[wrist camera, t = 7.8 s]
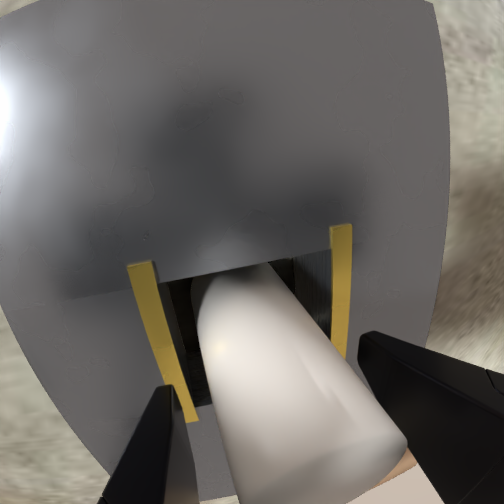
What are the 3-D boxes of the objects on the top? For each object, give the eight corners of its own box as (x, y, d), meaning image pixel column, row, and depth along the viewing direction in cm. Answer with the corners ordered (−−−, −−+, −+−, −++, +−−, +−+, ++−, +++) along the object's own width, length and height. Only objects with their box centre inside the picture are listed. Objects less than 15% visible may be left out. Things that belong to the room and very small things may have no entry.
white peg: (278, 317, 12) (386, 485, 5) (199, 335, 12) (252, 534, 5) (273, 242, 11) (426, 404, 4) (182, 259, 11) (228, 480, 3)
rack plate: (373, 403, 17) (399, 437, 14) (139, 464, 14) (142, 509, 11) (387, 22, 9) (440, 5, 6) (2, 58, 6) (-45, 41, 4)
